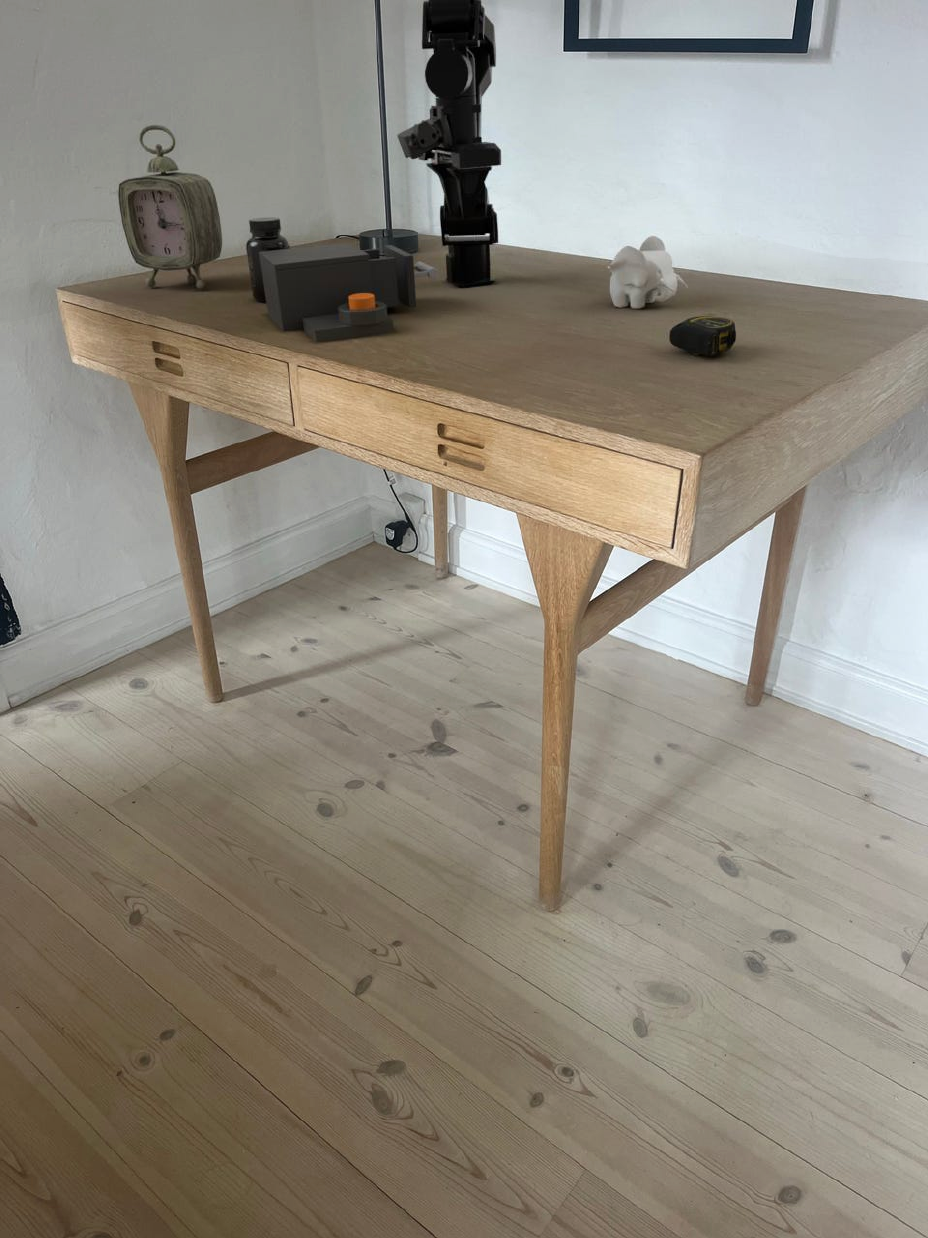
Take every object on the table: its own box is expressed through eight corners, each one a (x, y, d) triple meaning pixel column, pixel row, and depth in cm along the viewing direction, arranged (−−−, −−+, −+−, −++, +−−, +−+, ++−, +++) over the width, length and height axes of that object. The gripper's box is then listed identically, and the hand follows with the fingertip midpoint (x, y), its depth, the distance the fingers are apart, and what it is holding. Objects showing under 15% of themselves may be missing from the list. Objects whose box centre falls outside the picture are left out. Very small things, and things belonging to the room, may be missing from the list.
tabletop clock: (136, 289, 160) (101, 127, 147) (168, 278, 167) (138, 123, 154) (205, 292, 155) (175, 126, 142) (235, 282, 162) (209, 121, 149)
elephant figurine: (668, 316, 129) (673, 249, 125) (591, 308, 135) (593, 244, 130) (693, 301, 136) (699, 237, 131) (619, 294, 142) (622, 233, 137)
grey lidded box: (354, 304, 144) (347, 242, 139) (375, 319, 134) (369, 254, 130) (267, 314, 140) (258, 251, 135) (283, 331, 130) (274, 264, 126)
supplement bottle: (287, 303, 146) (276, 222, 140) (247, 302, 147) (234, 222, 141) (301, 293, 152) (292, 215, 146) (263, 293, 153) (251, 215, 147)
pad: (377, 320, 134) (375, 295, 132) (395, 333, 127) (393, 307, 125) (303, 330, 131) (300, 304, 129) (318, 344, 124) (314, 317, 122)
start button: (371, 304, 129) (370, 291, 128) (378, 309, 126) (377, 296, 125) (346, 307, 128) (345, 294, 127) (353, 313, 125) (352, 299, 124)
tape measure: (665, 352, 114) (667, 321, 112) (703, 341, 117) (706, 311, 115) (706, 363, 109) (709, 331, 107) (745, 352, 112) (749, 321, 110)
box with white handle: (421, 290, 146) (418, 241, 142) (443, 303, 138) (441, 252, 134) (318, 303, 141) (312, 253, 137) (334, 317, 133) (329, 264, 129)
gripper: (381, 98, 134) (390, 213, 143) (423, 101, 119) (430, 229, 128) (452, 94, 138) (457, 207, 146) (501, 96, 123) (503, 222, 131)
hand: (460, 216), depth 137 cm, fingers open, 5 cm apart
